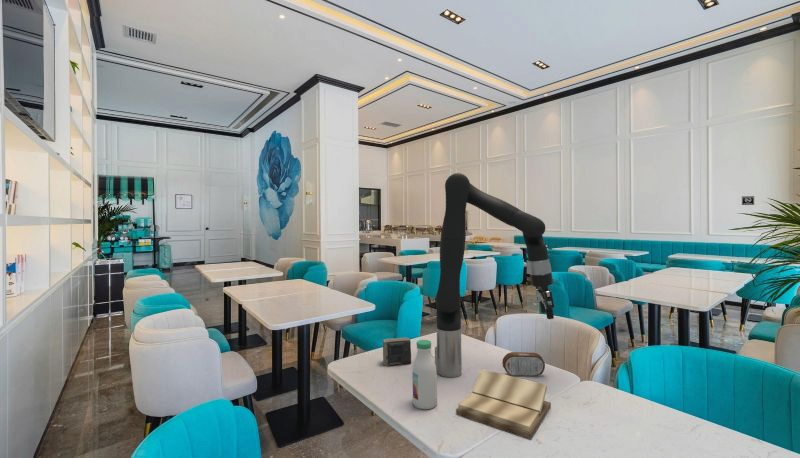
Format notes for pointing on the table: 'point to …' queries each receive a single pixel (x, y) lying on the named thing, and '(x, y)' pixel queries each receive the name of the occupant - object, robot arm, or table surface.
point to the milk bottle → (424, 377)
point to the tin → (523, 364)
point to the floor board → (502, 414)
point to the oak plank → (511, 390)
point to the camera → (396, 351)
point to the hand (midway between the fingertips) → (547, 315)
